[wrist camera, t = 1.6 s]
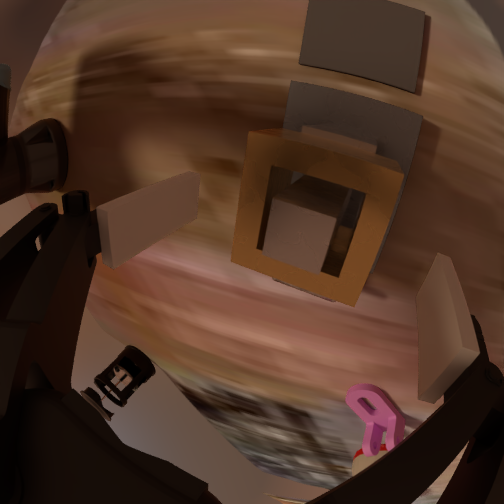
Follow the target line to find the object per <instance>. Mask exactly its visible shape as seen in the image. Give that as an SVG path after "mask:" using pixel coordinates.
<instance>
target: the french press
mask: <svg viewBox="0 0 504 504" xmlns="http://www.w3.org/2000/svg"><path fill="white" fill-rule="evenodd" d="M154 374H155V367H154V365H153V364H152V362H151V361H150V360H149V358H148V357H147V356H146V355H145V354H144V353H143V352H141V351H140V350H139V349H137V348H135V347H134V346H130V345H128V346H126V347H125V349H124V350H123V351H122V352H121V353H120V354H119V355H118V357H117V358H116V359H115V360H114V361H113V362H112V363H111V364H110V365H109V366H108V367H107V368H106V369H105V370H104V371H103V372H102V373H101V374H98V375H97V376H96V377H95V378H94V383H95V385H96V386H97V387H98V388H99V389H100V390H101V391H102V392H103V393H104V394H105V396H104V397H103V398H102V399H101V398H100V395H99V394H98V393H97V392H96V391H95V390H93V389H92V388H90V387H88V388H87V389H86V390H84V391H80V393H81V395H82V396H83V398H84V399H85V400H86V401H88V402H89V403H90V404H91V405H92V406H93V407H94V408H96V409H97V410H98V411H99V412H100V414H101V415H102V417H103V418H105V419H107V420H108V421H111V417H112V416H113V415H114V413H111V412H110V411H108V410H107V409H105V408H104V407H103V405H102V400H103V399H104V398H105V397H106V396H107V397H108V398H109V399H110V400H111V401H112V402H114V403H115V404H116V405H118V406H120V407H124V406H125V405H126V404H127V399H128V398H129V397H130V396H131V395H132V394H133V393H134V392H135V391H137V390H138V388H139V386H140V385H141V384H142V383H146V382H147V380H149V378H150V377H151V376H153V375H154ZM115 376H116V377H117V378H118V379H119V380H120V381H119V382H118V383H117V384H116V385H114V384H113V383H112V382H111V380H112V379H113V378H114V377H115ZM120 382H122V383H123V384H124V385H125V386H126V387H125V388H124V389H123V390H122V391H120V390H119V389H118V388H117V387H116V386H117V385H118V384H119V383H120ZM106 385H107V386H108V387H109V388H110V389H111V390H110V391H109V392H108V391H107V389H106V388H105V386H106ZM111 391H113V392H114V393H115V394H116V395H117V396H118V397H119V399H120V400H118V399H116V398H115V397H114V396H113V395H112V394H110V392H111Z"/></svg>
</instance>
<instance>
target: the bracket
mask: <svg viewBox="0 0 504 504" xmlns="http://www.w3.org/2000/svg"><path fill="white" fill-rule="evenodd" d="M361 397H365V398H368V399H369V400H370V401H371V403H372V404H373V405H374V406H375V407H376V408H377V410H374V409H371V408H370V407H369V406H368V405H367V404H366V403H365V402H364V401H363V399H362V398H361ZM346 403H347V405H348V406H349V407H350V408H351V409H352V410H353V411H354V412H355V413H356V414H357V415H358V416H359V417H360V418H361V419H362V420H363V421H364V422H365V423H366V430H365V435H364V439H363V443H362V450H363V453H364V455H365V456H366V457H370V456H376V455H377V454H378V453H379V450H380V446H381V440H382V435H383V432H384V431H387V434H386V448H387V450H388V452H389V451H390V450H391V449H393V448H394V447H395V446H396V445H398V444H399V443H400V442H401V441H403V436H404V428H405V419H404V418H403V417H402V415H401V414H400V413H399V412H398V411H397V409H396V408H395V407H394V406H393V404H392V403H391V402H390V401H389V400H388V398H387V397H386V396H385V395H384V393H383V392H382V391H381V390H380V389H379V388H378V387H376V386H374V385H371V384H357V385H354V386H352V387H350V388H349V390H348V391H347V395H346Z"/></svg>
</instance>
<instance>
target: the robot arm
mask: <svg viewBox="0 0 504 504" xmlns="http://www.w3.org/2000/svg"><path fill="white" fill-rule="evenodd" d="M10 82H11V68H10V66H8V65H7V64H0V205H1V204H3V203H5V202H7V201H9V200H12V199H14V198H16V197H18V196H21V195H23V194H26V193H49V192H53V191H55V190H58V189H60V188H61V187H62V186H63V184H64V182H65V179H66V175H67V165H68V159H67V148H66V143H65V138H64V135H63V132H62V130H61V128H60V126H59V124H58V123H57V122H56V121H55V120H54V119H51V118H48V119H44V120H40V121H38V122H36V123H35V124H33V125H31V126H30V127H28V128H27V129H25V130H24V131H22V132H21V133H19V134H18V135H16V136H13V137H9V138H8V113H9V98H10V91H11V87H10V84H11V83H10ZM199 184H200V174H198V173H194V172H190V171H189V172H186V173H183V174H180V175H177V176H174V177H171V178H169V179H166V180H163V181H160V182H158V183H155V184H152V185H149V186H147V187H144V188H142V189H139V190H136V191H134V192H131V193H129V194H126V195H124V196H121V197H119V198H116V199H114V200H112V201H109V202H107V203H104V204H102V205H100V206H97V207H96V209H95V210H93V211H90V204H89V193H88V192H87V191H84V190H76V191H71V192H68V193H66V194H64V195H63V196H62V203H63V211H64V214H59V213H58V206H57V204H55V203H44V204H42V205H40V206H38V207H37V208H35V209H34V210H33V211H31V212H30V213H29V214H28V215H26V216H25V217H24V218H23V219H21V220H20V221H19V222H18V223H17V224H16V225H14V226H13V227H12V228H11V229H10V230H8V231H7V232H6V233H5V234H4V235H3V236H2V237H0V504H222V503H221V502H220V501H219V500H218V499H217V498H216V497H215V496H214V495H213V494H212V493H210V492H209V491H208V483H206V482H204V481H202V480H200V479H198V478H196V477H195V476H193V475H191V474H189V473H187V472H185V471H184V470H182V469H180V468H178V467H177V466H175V465H173V464H172V463H170V462H168V461H166V460H162V459H160V458H157V457H154V456H152V455H149V454H146V453H144V452H141V451H139V450H136V449H134V448H132V447H129V446H127V445H125V444H124V443H122V441H121V440H120V439H119V438H118V436H117V435H116V434H115V433H114V431H113V430H112V429H111V427H110V426H109V425H108V424H107V422H106V421H105V419H104V418H103V417H102V415H101V414H100V412H99V411H98V410H97V409H96V408H94V407H93V406H92V405H91V404H90V403H89V402H88V401H86V400H85V399H84V398H83V397H82V396H81V395H80V394H79V393H78V392H77V391H76V390H74V389H72V387H71V376H72V369H73V362H74V356H75V351H76V345H77V340H78V335H79V330H80V325H81V320H82V316H83V312H84V307H85V303H86V299H87V295H88V291H89V288H90V284H91V280H92V277H93V273H94V270H95V266H96V263H97V259H96V255H97V254H98V253H100V252H101V253H102V260H103V264H105V265H107V266H109V267H110V268H112V269H115V268H117V267H118V266H120V265H121V264H123V263H124V262H126V261H128V260H129V259H131V258H132V257H134V256H135V255H137V254H139V253H140V252H142V251H143V250H145V249H147V248H148V247H150V246H151V245H153V244H155V243H156V242H158V241H160V240H161V239H163V238H165V237H166V236H168V235H170V234H171V233H173V232H175V231H176V230H178V229H180V228H181V227H183V226H185V225H186V224H188V223H190V222H191V221H193V220H195V219H197V209H198V196H199ZM37 237H39V242H40V245H41V249H40V250H39V251H38V250H37V247H36V243H35V240H36V238H37ZM416 308H417V322H418V348H419V377H418V400H422V401H426V402H429V403H433V404H434V403H435V402H436V401H437V400H438V399H439V398H440V397H441V396H442V395H443V394H444V404H442V405H441V406H440V407H439V408H438V409H437V410H436V411H435V412H434V413H433V414H432V415H431V416H429V417H428V418H427V420H426V421H425V422H423V423H422V424H421V425H420V426H419V427H418V428H417V429H416V430H414V431H413V432H412V433H411V434H410V435H409V436H407V437H406V438H405V439H404V440H403V441H401V442H400V443H399V444H398V445H396V446H395V447H394V448H393V449H391V450H390V451H389V452H387V453H386V454H385V455H383V456H382V457H381V458H379V459H378V460H376V461H375V462H374V463H372V464H371V465H369V466H368V467H367V468H365V469H364V470H362V471H361V472H359V473H358V474H356V475H354V476H353V477H351V478H350V479H348V480H347V481H345V482H343V483H342V484H340V485H338V486H337V487H335V488H333V489H331V490H330V491H328V492H326V493H324V494H322V495H321V496H319V497H317V498H315V499H313V500H311V501H309V502H307V503H305V504H411V503H413V502H414V501H415V500H416V499H417V498H418V497H419V496H420V495H421V494H422V493H423V492H424V491H425V490H426V489H427V488H428V487H429V486H430V485H431V484H432V483H433V482H434V481H435V480H436V479H437V478H438V477H439V476H440V475H441V474H442V473H443V471H444V470H445V469H446V468H447V467H448V466H449V465H450V463H451V462H452V461H453V460H454V459H455V458H456V456H457V455H458V454H459V453H460V452H461V450H462V449H463V448H464V446H465V445H466V444H467V443H468V441H469V443H468V445H467V447H466V449H465V452H464V454H463V456H462V458H461V460H460V462H459V464H458V466H457V468H456V470H455V472H454V474H453V476H452V478H451V480H450V481H449V483H448V485H447V487H446V489H445V490H444V492H443V494H442V495H441V497H440V499H439V500H438V502H437V504H504V377H503V374H502V372H501V371H500V370H499V368H498V367H497V366H496V365H494V364H493V363H491V362H489V357H488V353H487V349H486V345H485V342H484V337H483V335H482V330H481V327H480V324H479V323H478V321H477V319H476V318H475V316H474V315H471V314H470V312H469V309H468V306H467V302H466V299H465V296H464V293H463V290H462V287H461V284H460V282H459V279H458V276H457V273H456V271H455V268H454V265H453V263H452V260H451V258H450V257H448V256H446V255H443V254H441V253H439V252H438V253H437V255H436V257H435V260H434V262H433V264H432V266H431V268H430V270H429V272H428V274H427V276H426V278H425V280H424V282H423V284H422V286H421V288H420V290H419V292H418V294H417V295H416Z"/></svg>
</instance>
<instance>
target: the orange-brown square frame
mask: <svg viewBox="0 0 504 504" xmlns="http://www.w3.org/2000/svg"><path fill="white" fill-rule="evenodd" d="M294 171H296V172H299V173H303V174H306V175H310V176H313V177H317V178H320V179H323V180H327V181H330V182H333V183H336V184H340V185H343V186H346V187H349V188H352V189H355V190H358V191H361V192H364V196H363V200H362V203H361V206H360V210H359V213H358V216H357V219H356V222H355V225H354V229H353V232H352V235H351V238H350V241H349V242H346V241H344V240H341V239H338V238H334V241H333V243H332V246H331V248H330V250H329V253H328V255H327V258H326V260H325V262H324V265H323V267H322V269H321V272H320V274H319V275H317V274H314V273H311V272H309V271H306V270H303V269H300V268H298V267H295V266H292V265H289V264H286V263H284V262H281V261H278V260H275V259H273V258H270V257H267V256H264V255H262V251H263V246H264V241H265V236H266V230H267V225H268V220H269V215H270V209H271V204H272V199H273V198H274V197H275V196H276V195H278V194H279V193H280V192H282V191H283V190H284V189H286V188H287V187H288V186H290V185H291V181H292V176H293V172H294ZM403 178H404V173H403V171H402V169H401V167H400V165H399V164H398V162H397V161H396V160H393V159H390V158H387V157H384V156H381V155H378V154H375V153H372V152H369V151H366V150H363V149H360V148H356V147H353V146H350V145H346V144H343V143H339V142H336V141H332V140H329V139H325V138H321V137H317V136H313V135H309V134H305V133H301V132H297V131H292V130H288V129H283V128H273V129H264V130H255V131H249V133H248V140H247V147H246V153H245V160H244V167H243V174H242V181H241V188H240V195H239V202H238V210H237V217H236V224H235V232H234V239H233V247H232V255H231V262H233V263H236V264H239V265H241V266H244V267H246V268H249V269H252V270H254V271H257V272H260V273H262V274H265V275H268V276H270V277H273V278H276V279H278V280H281V281H284V282H286V283H289V284H292V285H294V286H297V287H300V288H303V289H305V290H308V291H311V292H313V293H316V294H319V295H322V296H324V297H327V298H330V299H333V300H335V301H338V302H341V303H344V304H346V305H349V306H352V307H354V306H355V304H356V302H357V300H358V298H359V295H360V293H361V291H362V289H363V286H364V284H365V282H366V280H367V277H368V275H369V272H370V270H371V268H372V265H373V263H374V260H375V258H376V255H377V253H378V250H379V248H380V245H381V242H382V240H383V237H384V234H385V232H386V229H387V226H388V223H389V221H390V218H391V215H392V212H393V209H394V206H395V203H396V200H397V197H398V194H399V191H400V187H401V184H402V181H403Z"/></svg>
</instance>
